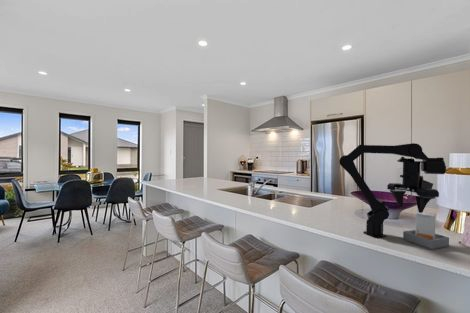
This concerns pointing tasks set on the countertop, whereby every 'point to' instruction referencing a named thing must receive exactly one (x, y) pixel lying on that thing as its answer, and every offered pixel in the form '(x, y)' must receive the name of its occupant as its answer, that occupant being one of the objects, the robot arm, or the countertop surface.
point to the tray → (426, 240)
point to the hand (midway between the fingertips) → (410, 209)
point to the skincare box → (425, 225)
